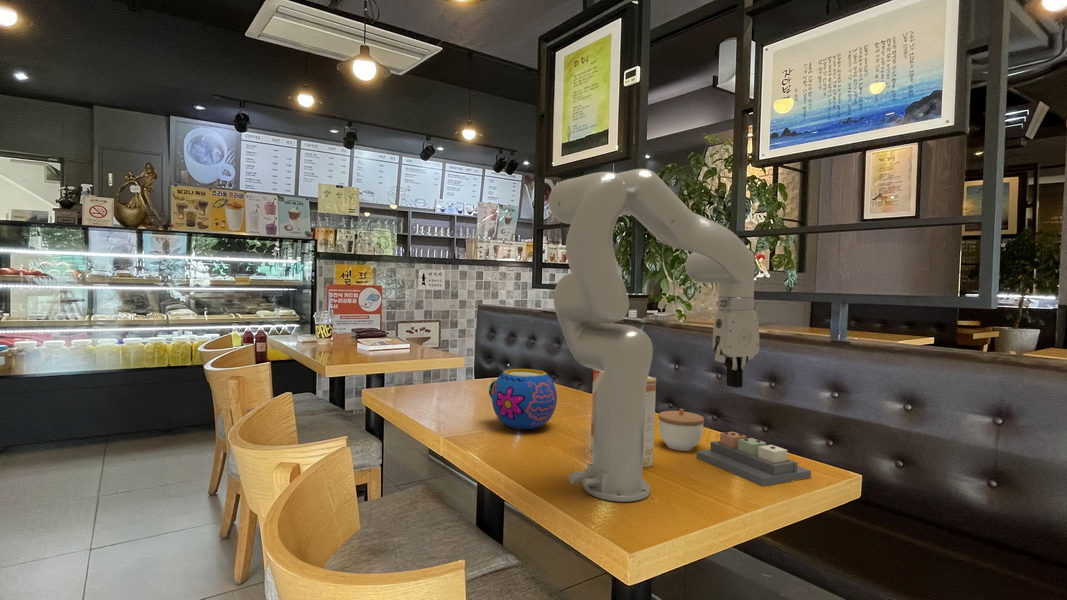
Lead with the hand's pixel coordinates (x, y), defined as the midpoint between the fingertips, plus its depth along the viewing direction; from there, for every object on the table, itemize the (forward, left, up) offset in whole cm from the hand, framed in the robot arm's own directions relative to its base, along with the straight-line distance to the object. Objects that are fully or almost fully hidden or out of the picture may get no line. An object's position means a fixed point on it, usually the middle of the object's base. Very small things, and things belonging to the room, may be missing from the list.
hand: (734, 386), depth 124 cm
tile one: (+2, -10, -14) cm, 17 cm away
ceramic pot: (-32, +42, -18) cm, 56 cm away
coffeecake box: (-22, +11, -18) cm, 31 cm away
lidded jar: (-3, +13, -18) cm, 22 cm away
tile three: (+2, +1, -14) cm, 14 cm away
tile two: (+2, -4, -14) cm, 15 cm away
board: (+2, -4, -17) cm, 18 cm away
